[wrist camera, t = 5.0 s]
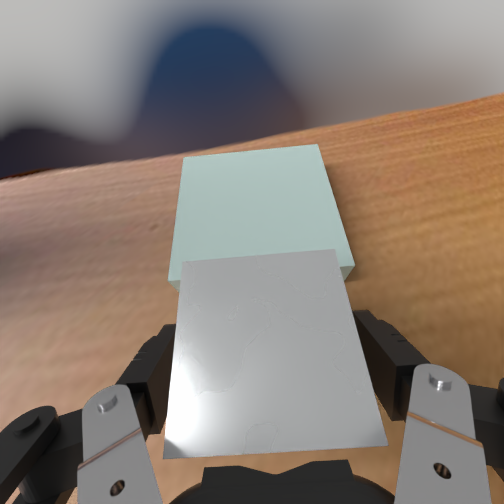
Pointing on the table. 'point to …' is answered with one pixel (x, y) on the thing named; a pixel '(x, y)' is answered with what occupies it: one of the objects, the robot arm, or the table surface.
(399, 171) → the table surface
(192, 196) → the stand
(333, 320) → the block
